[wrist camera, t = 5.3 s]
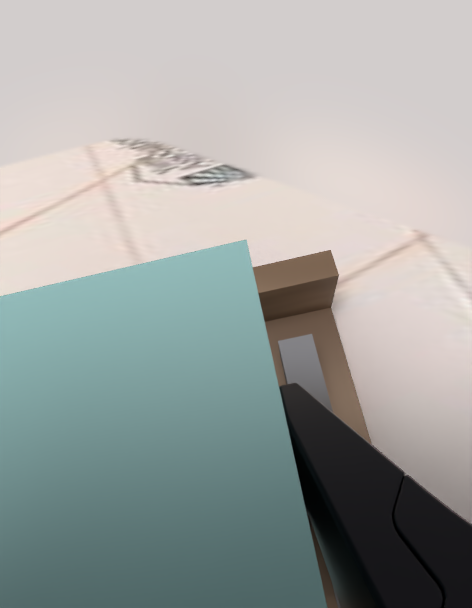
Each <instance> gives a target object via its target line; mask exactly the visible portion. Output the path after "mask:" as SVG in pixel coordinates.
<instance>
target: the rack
mask: <svg viewBox="0 0 472 608" xmlns="http://www.w3.org/2000/svg"><path fill="white" fill-rule="evenodd" d="M253 272H254V276H255V281H256V285H257V290H258V294H259V299H260V303H261V308H262V312H263V317H264V321H265V326H266V330H267V335H268V339H269V344H270V348H271V353H272V357H273V362H274V366H275V371H276V375H277V380H278V384H279V387H280V386H281V385H286V384H291V383H298V384H299V385H300V386H301V387H303V388H304V389H305V390H306V391H308V392H309V393H310V394H311V395H312V396H314V397H315V398H316V399H317V400H318V401H320V402H321V403H322V404H323V405H324V406H326V407H327V408H328V409H329V410H330V411H332V412H333V413H334V414H335V415H336V416H338V417H339V418H340V419H341V420H342V421H344V422H345V423H346V424H347V425H348V426H350V427H351V428H352V429H353V430H355V431H356V432H357V433H358V434H359V435H361V436H362V437H363V438H364V439H365V440H367V441H368V442H369V443H370V444H371V440H370V437H369V434H368V430H367V427H366V424H365V420H364V417H363V414H362V410H361V407H360V404H359V400H358V397H357V394H356V390H355V387H354V384H353V380H352V377H351V373H350V370H349V367H348V363H347V360H346V357H345V353H344V350H343V347H342V343H341V340H340V337H339V333H338V330H337V327H336V323H335V320H334V317H333V313H332V310H331V305H332V301H333V297H334V293H335V289H336V285H337V280H338V276H339V274H338V271H337V268H336V265H335V262H334V259H333V256H332V253H331V250H328V251H324V252H320V253H315V254H311V255H306V256H302V257H297V258H293V259H289V260H284V261H280V262H275V263H271V264H266V265H262V266H258V267H253ZM371 445H372V444H371ZM305 507H306V506H305ZM306 511H307V509H306ZM307 516H308V520H309V525H310V530H311V534H312V539H313V543H314V548H315V552H316V557H317V562H318V566H319V571H320V575H321V580H322V585H323V589H324V594H325V598H326V603H327V607H328V608H341V607H340V604H339V601H338V598H337V595H336V592H335V589H334V586H333V584H332V581H331V578H330V575H329V572H328V569H327V566H326V563H325V560H324V558H323V555H322V552H321V549H320V546H319V543H318V540H317V537H316V535H315V532H314V529H313V526H312V523H311V520H310V517H309V514H308V511H307Z"/></svg>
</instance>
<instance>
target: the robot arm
mask: <svg viewBox="0 0 472 608" xmlns="http://www.w3.org/2000/svg"><path fill="white" fill-rule="evenodd" d="M279 389H280V394H281V398H282V403H283V407H284V412H285V416H286V421H287V426H288V430H289V435H290V439H291V444H292V448H293V453H294V457H295V462H296V466H297V471H298V475H299V480H300V485H301V489H302V494H303V498H304V503H305V506H306V509H307V511H308V514H309V517H310V520H311V523H312V526H313V529H314V532H315V535H316V537H317V540H318V543H319V546H320V549H321V552H322V555H323V558H324V560H325V563H326V566H327V569H328V572H329V575H330V578H331V581H332V584H333V586H334V589H335V592H336V595H337V598H338V601H339V604H340V607H341V608H472V524H471V523H469V522H468V521H466V520H465V519H464V518H462V517H461V516H459V515H458V514H457V513H455V512H454V511H452V510H451V509H450V508H449V507H447V506H446V505H445V504H444V503H442V502H441V501H440V500H438V499H437V498H436V497H435V496H433V495H432V494H431V493H430V492H428V491H427V490H426V489H425V488H423V487H422V486H421V485H420V484H419V483H417V482H416V481H415V480H414V479H413V478H411V477H410V476H409V475H405V472H404V471H403V470H401V469H400V468H399V467H398V466H397V465H395V464H394V463H393V462H392V461H391V460H389V459H388V458H387V457H386V456H385V455H383V454H382V453H381V452H380V451H379V450H377V449H376V448H375V447H374V446H373V445H371V444H370V443H369V442H368V441H367V440H365V439H364V438H363V437H362V436H361V435H359V434H358V433H357V432H356V431H355V430H353V429H352V428H351V427H350V426H348V425H347V424H346V423H345V422H344V421H342V420H341V419H340V418H339V417H338V416H336V415H335V414H334V413H333V412H332V411H330V410H329V409H328V408H327V407H326V406H324V405H323V404H322V403H321V402H320V401H318V400H317V399H316V398H315V397H314V396H312V395H311V394H310V393H309V392H308V391H306V390H305V389H304V388H303V387H301V386H300V385H299V384H298V383H291V384H286V385H281V386H280V387H279Z"/></svg>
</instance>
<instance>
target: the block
mask: <svg viewBox="0 0 472 608" xmlns="http://www.w3.org/2000/svg"><path fill="white" fill-rule="evenodd" d="M0 608H328V607H327V603H326V598H325V594H324V589H323V585H322V580H321V575H320V571H319V566H318V562H317V557H316V552H315V548H314V543H313V539H312V534H311V530H310V525H309V520H308V516H307V511H306V507H305V503H304V498H303V494H302V489H301V485H300V480H299V475H298V471H297V466H296V462H295V457H294V453H293V448H292V444H291V439H290V435H289V430H288V426H287V421H286V416H285V412H284V407H283V403H282V398H281V394H280V389H279V384H278V380H277V375H276V371H275V366H274V362H273V357H272V353H271V348H270V344H269V339H268V335H267V330H266V326H265V321H264V317H263V312H262V308H261V303H260V299H259V294H258V290H257V285H256V281H255V276H254V272H253V267H252V263H251V258H250V254H249V249H248V245H247V240H242V241H238V242H234V243H229V244H225V245H221V246H216V247H212V248H208V249H203V250H199V251H195V252H190V253H186V254H182V255H177V256H173V257H169V258H164V259H160V260H156V261H151V262H147V263H143V264H138V265H134V266H130V267H125V268H121V269H117V270H112V271H108V272H104V273H99V274H95V275H91V276H86V277H82V278H78V279H73V280H69V281H65V282H60V283H56V284H52V285H47V286H43V287H39V288H34V289H30V290H26V291H21V292H17V293H13V294H9V295H4V296H0Z"/></svg>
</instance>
